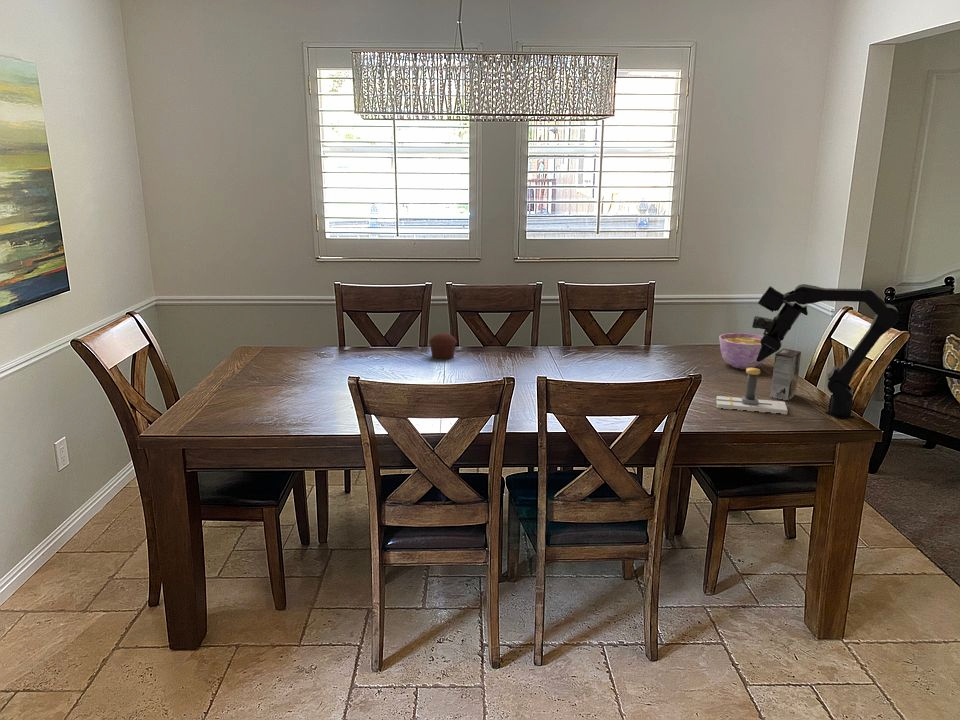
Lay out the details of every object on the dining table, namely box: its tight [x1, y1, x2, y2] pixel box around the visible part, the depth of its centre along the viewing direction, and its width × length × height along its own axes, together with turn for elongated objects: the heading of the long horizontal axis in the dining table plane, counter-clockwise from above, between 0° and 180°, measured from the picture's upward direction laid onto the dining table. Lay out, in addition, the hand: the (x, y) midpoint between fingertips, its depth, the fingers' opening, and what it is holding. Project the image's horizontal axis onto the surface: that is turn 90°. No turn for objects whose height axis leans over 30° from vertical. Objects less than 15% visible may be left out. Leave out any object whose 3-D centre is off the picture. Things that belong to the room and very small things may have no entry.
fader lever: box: [741, 367, 761, 404], centre depth 245 cm, size 5×4×11 cm
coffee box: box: [769, 348, 802, 401], centre depth 257 cm, size 9×6×16 cm
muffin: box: [428, 332, 458, 361], centre depth 306 cm, size 12×11×10 cm
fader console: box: [715, 395, 788, 415], centre depth 247 cm, size 22×9×2 cm, turn 74°
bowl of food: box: [718, 332, 766, 370], centre depth 294 cm, size 20×20×12 cm
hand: (758, 358), depth 246 cm, fingers open, 9 cm apart
